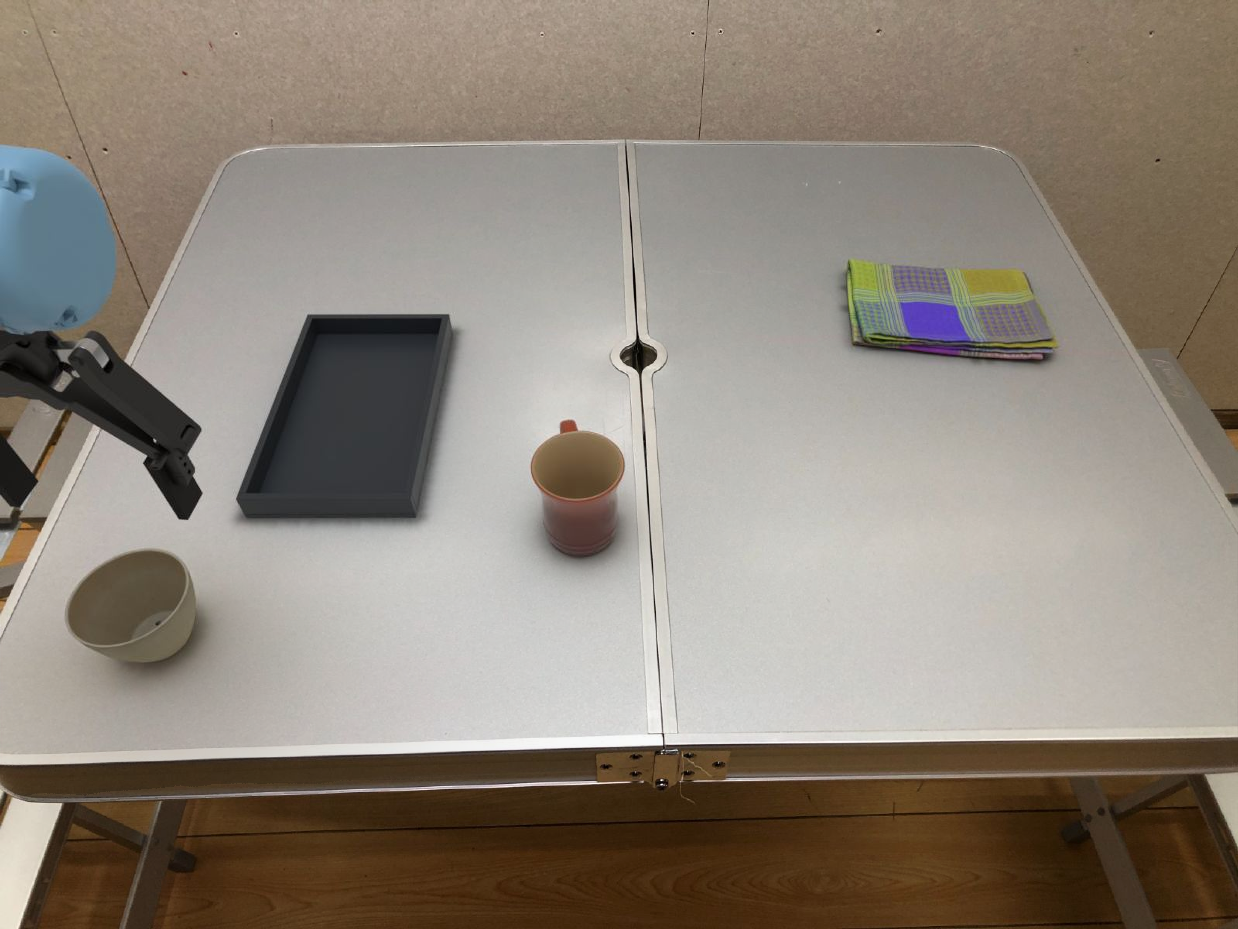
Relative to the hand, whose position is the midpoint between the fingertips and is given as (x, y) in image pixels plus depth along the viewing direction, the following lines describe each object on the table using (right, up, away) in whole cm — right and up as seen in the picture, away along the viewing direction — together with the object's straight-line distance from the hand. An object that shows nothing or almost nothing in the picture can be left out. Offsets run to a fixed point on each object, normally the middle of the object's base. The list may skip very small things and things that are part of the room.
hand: (107, 500), depth 66 cm
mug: (+36, -3, +21) cm, 42 cm away
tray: (+10, +8, +31) cm, 33 cm away
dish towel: (+82, +22, +43) cm, 95 cm away
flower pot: (-2, -13, +12) cm, 18 cm away
